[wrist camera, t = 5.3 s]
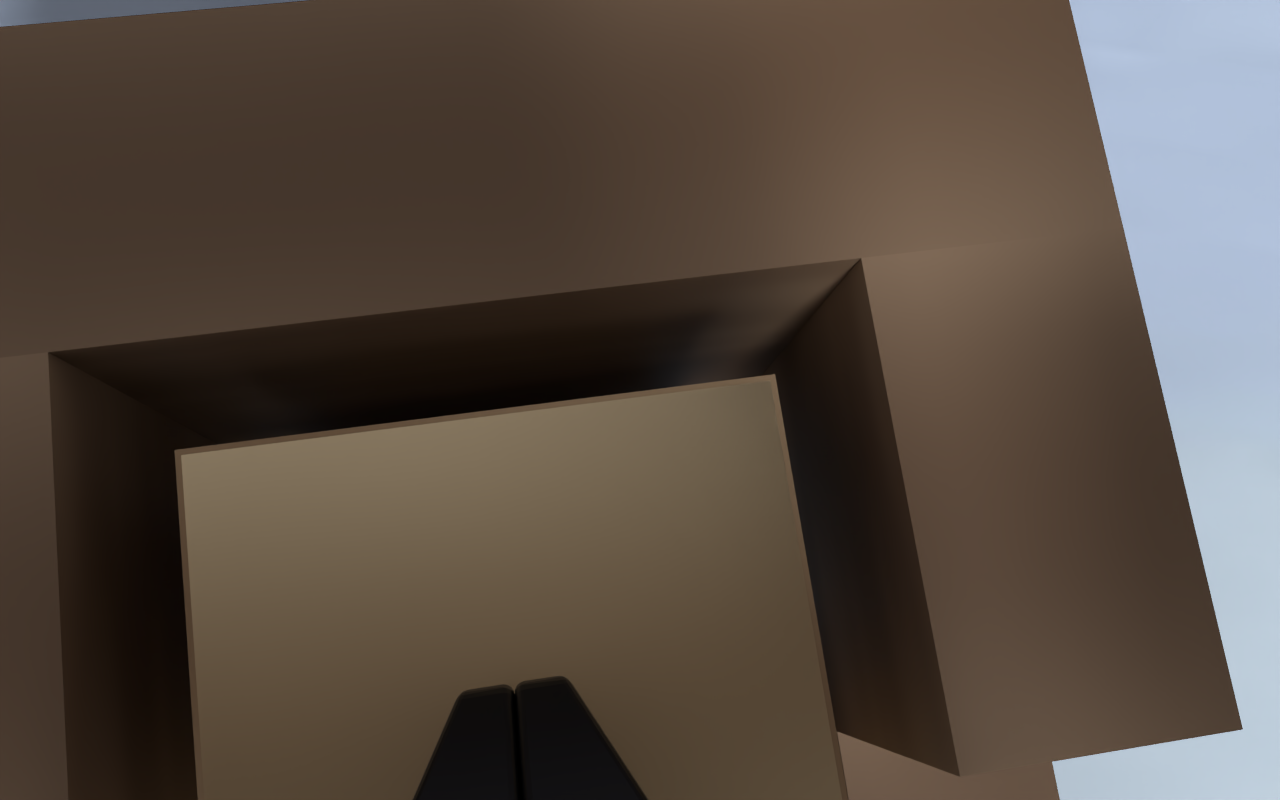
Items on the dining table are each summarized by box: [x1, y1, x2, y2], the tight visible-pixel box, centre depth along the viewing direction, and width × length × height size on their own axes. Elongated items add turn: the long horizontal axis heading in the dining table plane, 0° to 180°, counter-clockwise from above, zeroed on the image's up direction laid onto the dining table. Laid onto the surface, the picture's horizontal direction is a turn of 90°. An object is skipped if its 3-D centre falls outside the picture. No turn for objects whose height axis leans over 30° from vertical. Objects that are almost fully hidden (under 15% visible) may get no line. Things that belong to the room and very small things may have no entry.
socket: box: [0, 0, 1243, 800], centre depth 12 cm, size 11×12×7 cm
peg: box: [175, 374, 848, 800], centre depth 12 cm, size 5×5×7 cm
